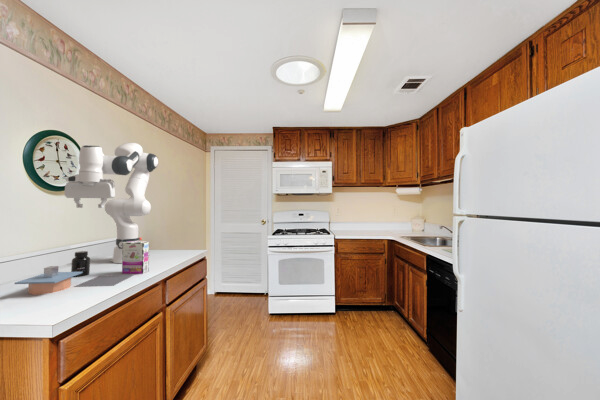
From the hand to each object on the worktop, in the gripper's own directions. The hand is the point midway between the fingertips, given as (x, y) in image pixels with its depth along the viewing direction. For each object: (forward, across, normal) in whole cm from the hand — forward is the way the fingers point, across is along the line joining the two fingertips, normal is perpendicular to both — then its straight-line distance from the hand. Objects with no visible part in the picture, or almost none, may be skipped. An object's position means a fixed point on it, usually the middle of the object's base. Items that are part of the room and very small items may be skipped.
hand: (90, 207), depth 116 cm
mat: (+34, -10, +4) cm, 36 cm away
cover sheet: (+29, +5, +14) cm, 33 cm away
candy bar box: (+34, -16, -9) cm, 39 cm away
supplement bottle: (+34, +8, -6) cm, 36 cm away
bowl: (+34, +5, +14) cm, 37 cm away
